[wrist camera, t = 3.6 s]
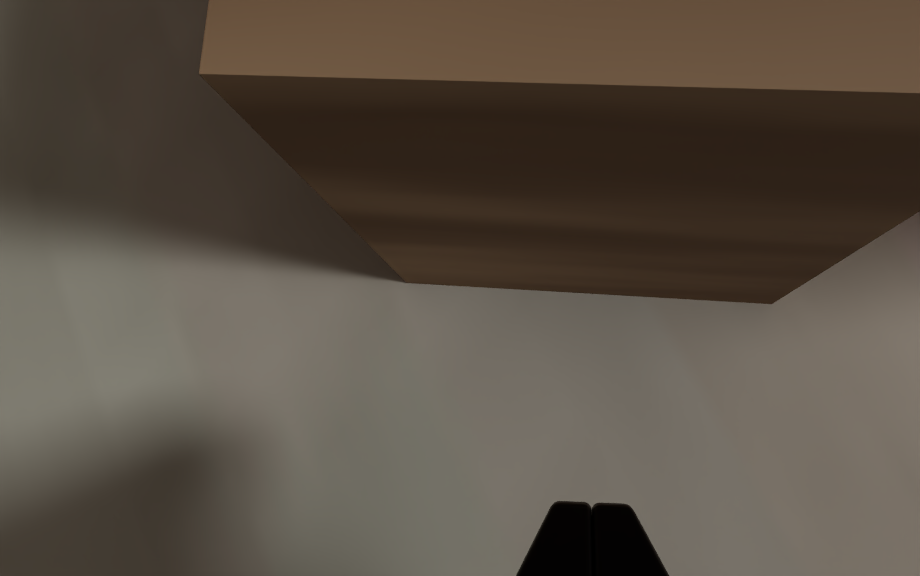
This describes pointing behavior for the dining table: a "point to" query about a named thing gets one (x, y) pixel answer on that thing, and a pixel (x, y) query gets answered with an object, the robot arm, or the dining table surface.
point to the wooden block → (589, 133)
